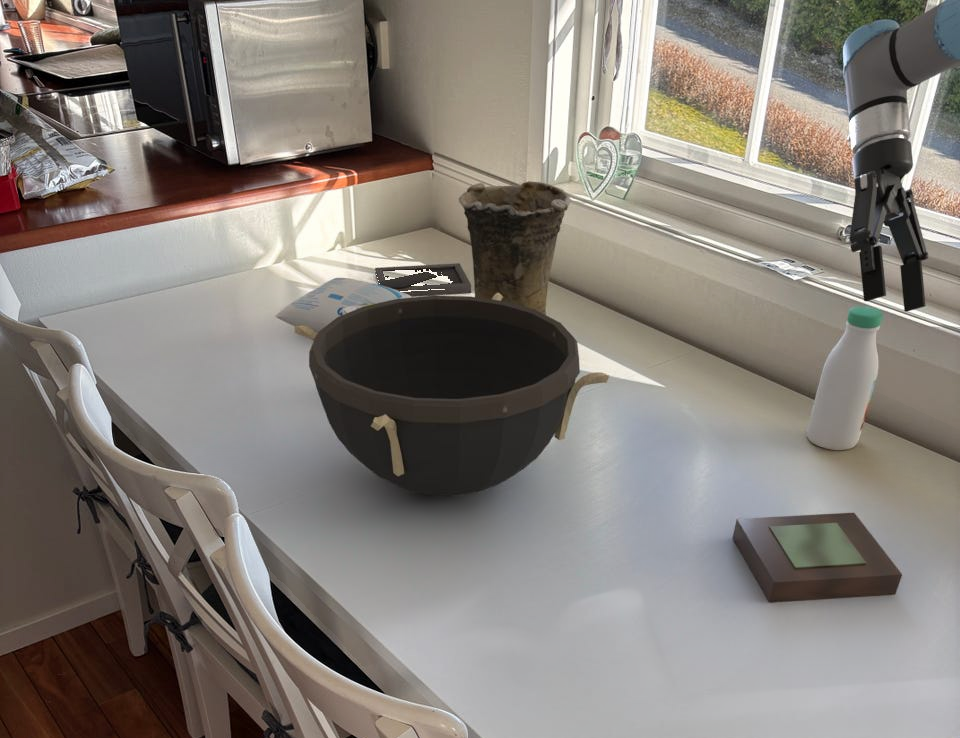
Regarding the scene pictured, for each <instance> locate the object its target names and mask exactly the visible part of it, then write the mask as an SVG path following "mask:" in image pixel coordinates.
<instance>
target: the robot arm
mask: <svg viewBox="0 0 960 738" xmlns="http://www.w3.org/2000/svg"><path fill="white" fill-rule="evenodd" d="M842 58H843V70H842V78H843V80H844V85H845V95H846V104H847V112H848V123H849V124H848V126H849V135H848V136H847V141H848V143H850V147H851V153H852V154H853V156H852V170H853V171H852V172H853V181H854V201H853V208H852V209H853V210H852V215H851V224H850V232H849V242H850V243H851V244H850V250H851V252H852V253H856V252H858V251H859V252H858V253H859V254H858V255H859V264H860V275H861V284H862V295H863V302H869V301H874V300H876V299H880V298H883V297H886V296H887V290H886V278H885V268H884V257H883V248H882V245H878V244H879V240H880V236H881V233H882V229H883V226H885V227H887V228H889V231H890V233H891V236H892V238H893V241H894V244H895V246H896V250H897V251H898V254H899V257H900V259H901V263H902V264H901V265H900V267H899V269H900V278H901V289H902V299H903V300H902V301H903V311H904V312H910V311H915V310H917V309H921V308H925V307H926V306H927V305H926V296H925V295H926V294H925V285H924V274H923V273H924V272H923V264H922V261H926V260H928V259H929V253H928V251H927V247H926V243H925V240H924V236H923V233H922V229H921V224H920V221H919V217H918V212H917V210H916V206H915V205H916V204H915V197H914V191H913V189H911V188H909V189H905V188H904V187H903V183H902V180H903V178H904V177H905V176H906V175H908V174H909V173H910V172H911V171H912V170H913V167H914V160H913V150H912V148H913V147H912V142H911V141H910V140H909V139H910V138H911V135H912V134H911V124H910V114H909V106H908V90H910V89H912V88H915V87H917V86H919V85H920V84H922V83H924V82H926V81H928V80H930V79H931V78H933V77H935V76H937V75H939V74H941V73H943V72H945V71H947V70H950V69H954V68H958V67H960V0H943V1H942V2H940V3H938V4H937V5H935V6H934V7H932V8H930V9H929V10H927V11H926V12H923V13H922V14H920V15H918V16H917V17H915V18H914V19H912V20H910V21H909V22H907V23H905V24H904V25H902V26H900V24H899V23H898V22H897V21H895V20H893V19H887V18H885V19H877V20H874V21H872V22H871V23H868V24H862V25H861V26H859V27H858V28H857V29H855V30H853V32H851V33H850V34H849V35H848V37H847V38H846V39H845V41H844V44H843V48H842Z"/></svg>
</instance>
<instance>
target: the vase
mask: <svg viewBox="0 0 960 738" xmlns="http://www.w3.org/2000/svg"><path fill="white" fill-rule="evenodd" d="M466 189H467V190H466V191H464V192H463V193H462V194H461V195H460V196H459V198H458V203H459V204H460V205H461V206H462V208H463V210H464V212H463V213H464V216H465V218H466V221H467V230H468V232H469V238H470V246H471V256H472V267H473V268H472V270H473V282H474V283H473V284H474V288H473V289H474V297H478V298H485V299H492V298H493V296H494V295H495V294H496V293H500V294H501V295H502V296H503V299H502V300H501V301H506V302H510V303H513V304H516V305H520V306H523V307H527V308H530V309H534V310H537V311H539V312H541V313H543V314H545V315H547V297H548V289H549V281H550V275H551V269H552V265H553V260H554V255H555V251H556V246H557V241H558V235H559V233H560V231H561V226H562V223H563V219H564V218H565V212H566V211H568V208H569V205H570V204H571V200H572V199H571V197H570V196H569V195H568V194H567V193H566V191H565V190H564V189H563V188H560V187H557V186H554V185H552V184H549V183H545V182H541V181H531V180H528V181H525V182H522V183H521V184H513V185H490V186H485V184H484V182H480V183H475V184H473V185H470V186H469V187H468V188H466Z"/></svg>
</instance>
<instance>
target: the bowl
mask: <svg viewBox="0 0 960 738" xmlns="http://www.w3.org/2000/svg"><path fill="white" fill-rule="evenodd" d="M502 299H503V296H502V295H501V294H500V293H496V294H495V295H494V296H493V298H492V299H485V298H478V297H475V296H467V295H464V296H463V295H426V296H412V298H402V299H394V300H390V301H385V302H381V303H377V304H372V305H368V306H364V307H361V308H359V309H356V310H354V311H351V312H349V313H347V314H344V315H342V316H339V317H337V318H336V319H334V320H333V321H332V322H331V323H329V324H328V325H327V326H326V327H324V328H323V329H322V330H320V331H319V332H318V333H315V332H314V331H313V330H312V329H311V328H309V327H307V326H304V325H302V326H293V329H294V333H295V334H297V335H300V336H303V337H305V338H307V339H310V340H312V344H311V347H310V348H309V349H310V350H309V351H308V353H309V354H308V356H309V357H308V367H309V371H310V372H311V376H312V378H313V381H314V385H315V388H316V391H317V393H318V394H317V395H318V397H319V399H320V402H321V405H322V407H323V410H324V413H325V416H326V418H327V422H328V424H329V425H330V427H331V429H332V431H333V433H334V434H335V436H336V437H337V439H338V441H339V442H340V443H341V444H342V445H343V446H344V448H345V449H346V450H347V451H348V452H349V453H350V454H351V455H352V456H353V457H354V458H355V459H356V460H357V461H359V462H360V463H361V464H362V465H363V466H365V467H366V468H367V469H368V470H370V472H372V473H373V474H374V475H376V476H377V477H378V478H380V479H382V480H385V481H387V482H389V483H390V484H393V485H395V486H398V487H400V488H402V489H406V490H407V491H411V492H417V493H421V494H426V495H433V496H457V495H465V494H470V493H477V492H480V491H483V490H486V489H490V488H493V487H496V486H498V485H500V484H502V483H505V482H506V481H507V480H509V479H511V478H512V477H513V476H515V475H517V474H518V473H520V472H521V471H523V470H524V469H526V468H527V467H528V466H529V465H530V464H532V463H533V462H534V461H535V460H537V458H539V456H540V455H541V453H542V452H543V451H544V450H545V449H546V448H547V447H548V445H549V444H550V442H551V440H552V439H553V437H554V438H555V439H557V440H558V441H562V440H565V438H566V433H567V429H568V426H569V423H570V419H571V415H572V410H573V407H574V403H575V401H576V398H577V396H578V394H579V392H580V390H581V389H582V388H584V387H586V386H590V385H596V384H607V383H608V381H609V378H610V375H608V374H607V373H605V372H601V371H597V372H590V373H588V374H585V375H583V376H582V377H580V378H579V379H577V378H578V376H579V375H580V373H581V371H580V370H581V369H580V367H581V366H580V353H579V346H578V340H577V339H576V338H575V337H574V336H573V335H572V333H571V332H570V331H569V330H568V329H567V328H566V327H565V326H564V324H562V322H560V321H558V320H556V319H554V318H553V317H550V316H548V315H547V314H546V315H545V314H543V313H541V312H539V311H537V310H534V309H530V308H527V307H523V306H520V305H516V304H513V303H510V302H506V301H501V300H502Z"/></svg>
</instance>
